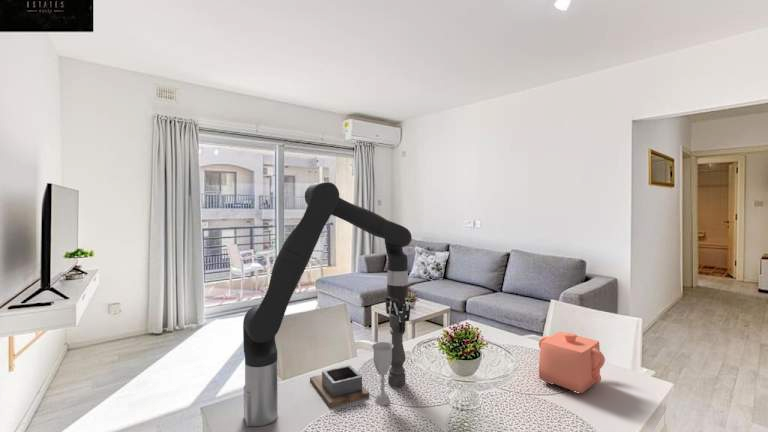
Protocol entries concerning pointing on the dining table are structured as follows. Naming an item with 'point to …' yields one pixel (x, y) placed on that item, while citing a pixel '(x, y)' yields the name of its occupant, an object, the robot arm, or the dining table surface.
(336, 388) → the collar
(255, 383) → the robot arm
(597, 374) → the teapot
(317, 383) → the keeper plate
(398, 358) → the candle holder
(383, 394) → the chalice
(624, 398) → the dining table surface
